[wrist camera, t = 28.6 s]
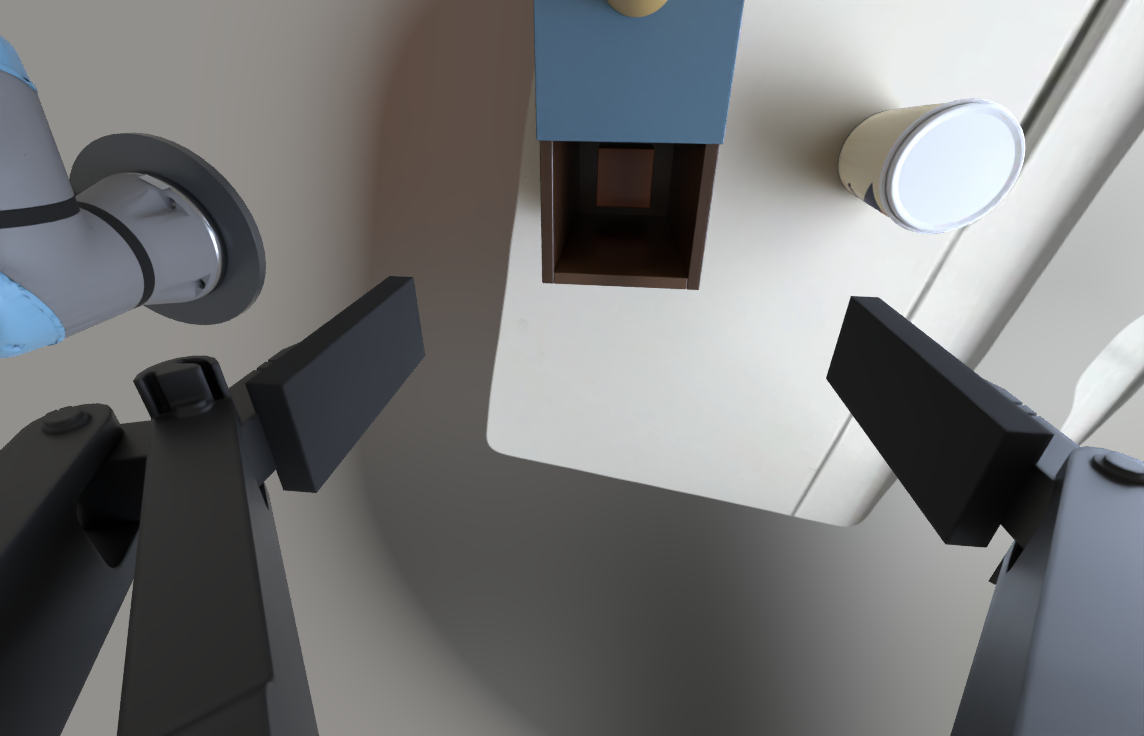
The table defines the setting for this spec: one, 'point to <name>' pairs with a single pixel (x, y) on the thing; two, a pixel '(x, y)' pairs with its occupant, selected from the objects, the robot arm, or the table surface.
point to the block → (624, 175)
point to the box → (625, 219)
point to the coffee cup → (934, 162)
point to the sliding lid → (635, 69)
